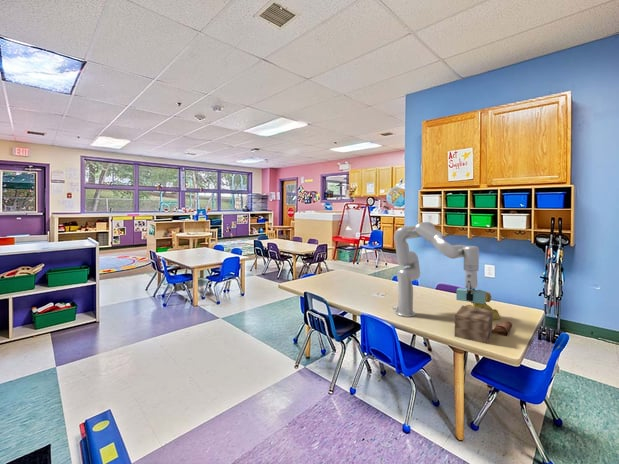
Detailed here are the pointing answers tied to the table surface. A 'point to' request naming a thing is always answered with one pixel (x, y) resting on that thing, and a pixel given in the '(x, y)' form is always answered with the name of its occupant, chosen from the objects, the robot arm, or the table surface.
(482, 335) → the brown wooden block
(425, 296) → the table surface
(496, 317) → the giraffe plush
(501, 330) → the sunglasses case
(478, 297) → the teal block
